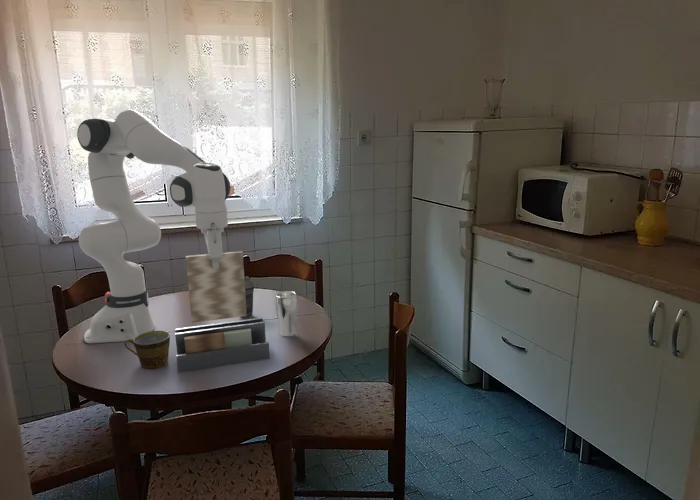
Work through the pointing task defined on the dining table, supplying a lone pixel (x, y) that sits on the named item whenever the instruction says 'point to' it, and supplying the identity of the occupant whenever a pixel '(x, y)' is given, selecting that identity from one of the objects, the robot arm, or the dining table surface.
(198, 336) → the walnut offcut
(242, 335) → the sage offcut
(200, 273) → the beige brown zigzag panel
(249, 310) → the beverage cup
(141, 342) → the ceramic cup
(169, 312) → the dining table surface
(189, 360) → the offcut rack
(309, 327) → the dining table surface
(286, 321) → the silver metal cylinder
